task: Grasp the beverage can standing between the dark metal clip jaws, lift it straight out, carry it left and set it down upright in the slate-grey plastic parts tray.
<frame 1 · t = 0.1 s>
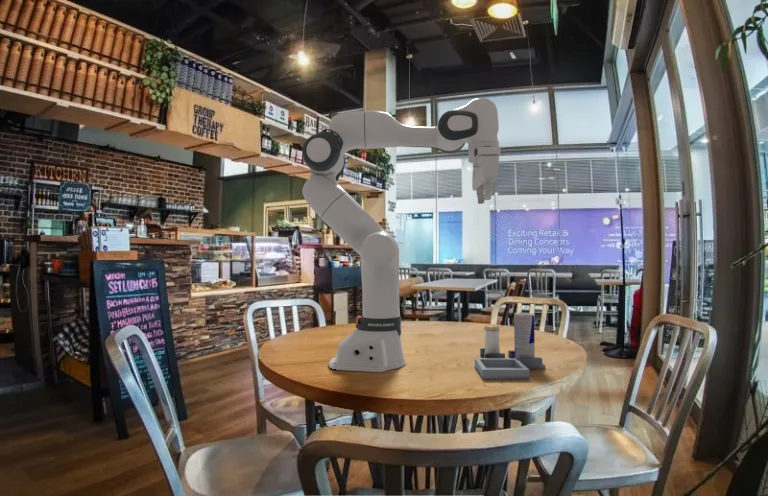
hand: (484, 201, 127), 48 cm above the table, fingers open, 8 cm apart
beverage can: (524, 365, 126), on the table
parts tray: (500, 372, 117), on the table
fuse clip: (524, 364, 126), on the table
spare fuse: (492, 358, 133), on the table
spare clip: (492, 358, 133), on the table
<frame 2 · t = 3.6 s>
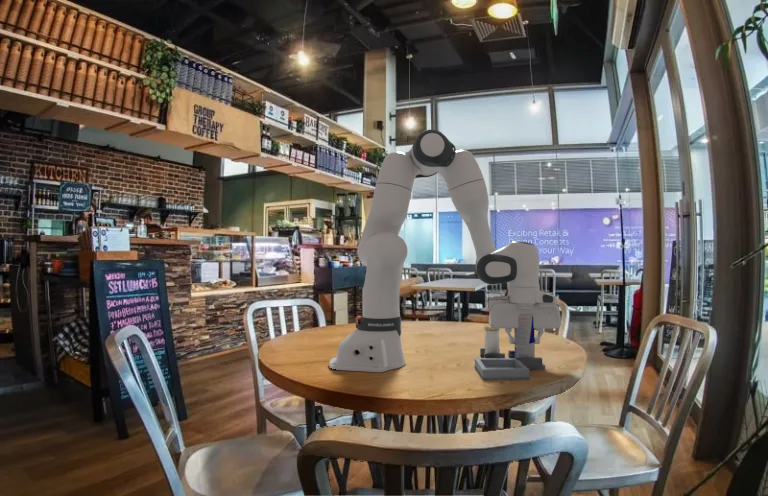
hand: (524, 343, 126), 6 cm above the table, fingers closed on beverage can, 5 cm apart
beverage can: (524, 365, 126), on the table, touching gripper
everything else where it was.
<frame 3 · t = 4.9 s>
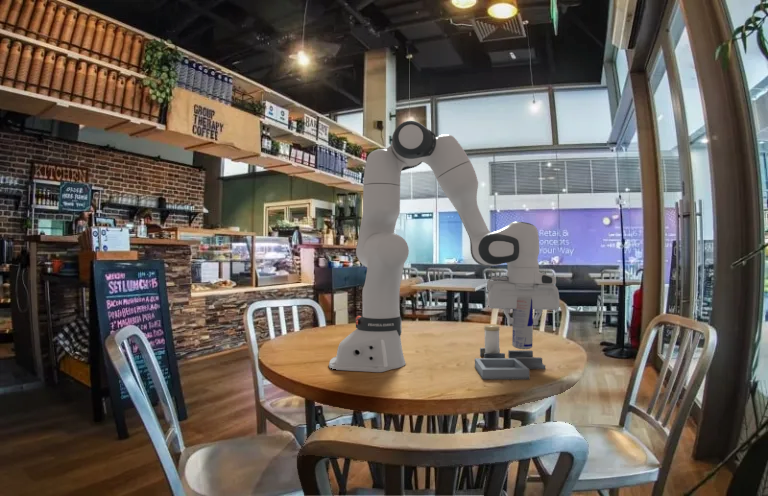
hand: (522, 324, 126), 12 cm above the table, fingers closed on beverage can, 6 cm apart
beverage can: (522, 348, 126), point 5 cm above the table, touching gripper
everything else where it was.
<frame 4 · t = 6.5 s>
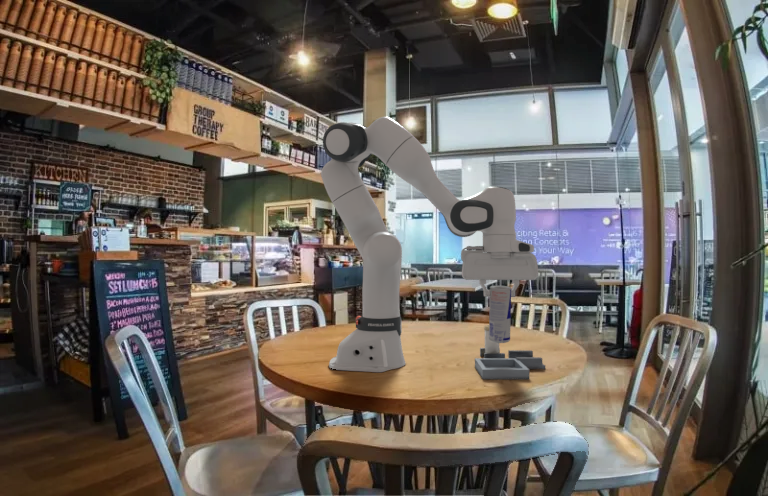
hand: (499, 296, 118), 21 cm above the table, fingers closed on beverage can, 5 cm apart
beverage can: (499, 341, 118), point 8 cm above the table, touching gripper
everything else where it was.
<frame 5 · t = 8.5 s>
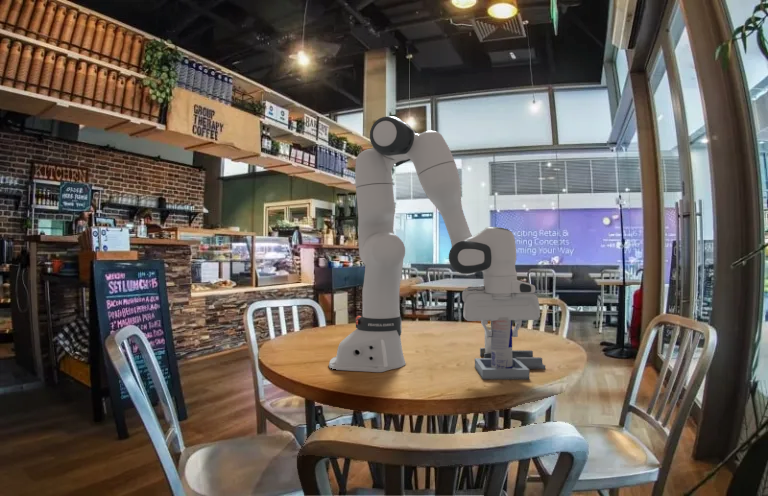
hand: (501, 336, 117), 10 cm above the table, fingers closed on beverage can, 5 cm apart
beverage can: (501, 371, 118), resting on parts tray, touching gripper
everything else where it was.
when the fingers open (8 cm above the table, at t = 9.8 s): beverage can stays where it is, resting on parts tray.
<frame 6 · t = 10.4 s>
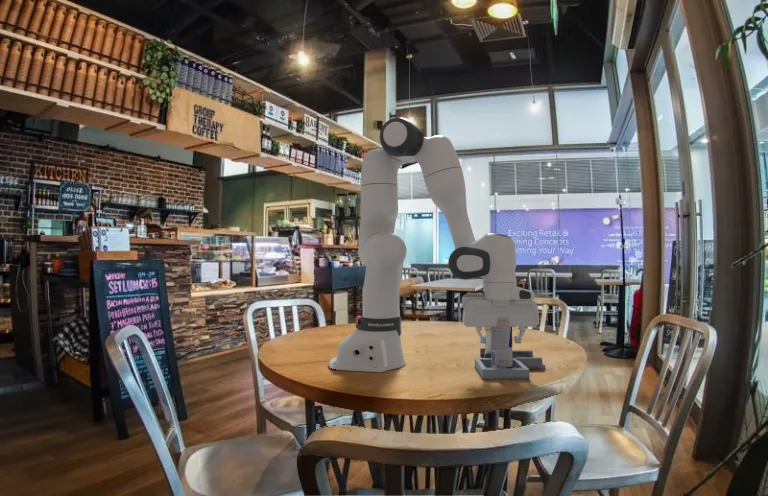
hand: (500, 343, 117), 8 cm above the table, fingers open, 8 cm apart
beverage can: (502, 371, 118), resting on parts tray
everything else where it was.
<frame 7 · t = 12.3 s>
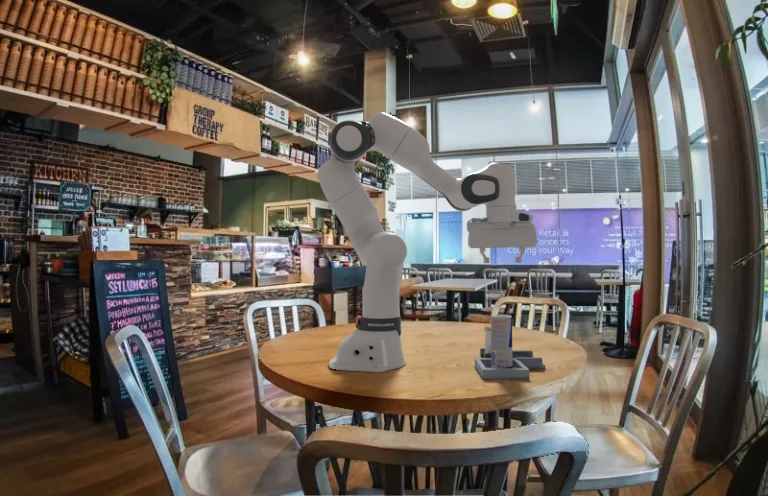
hand: (502, 263, 130), 30 cm above the table, fingers open, 8 cm apart
nothing on the table moved.
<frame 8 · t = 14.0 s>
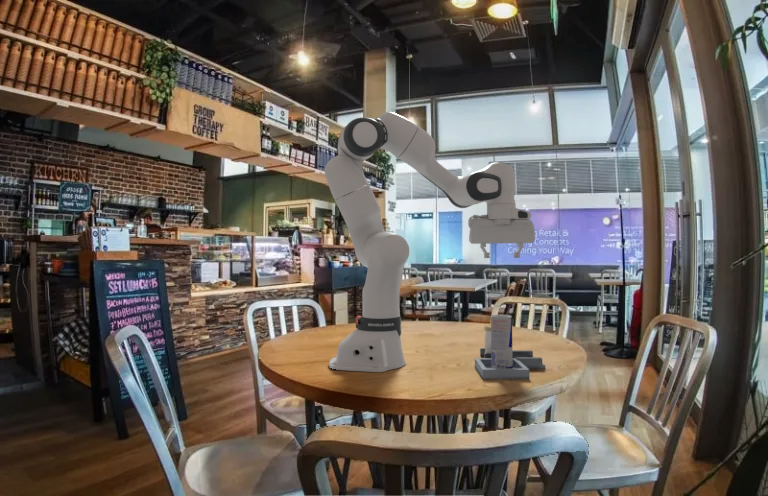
hand: (501, 258, 136), 31 cm above the table, fingers open, 8 cm apart
nothing on the table moved.
at the end: beverage can inside the target area on the parts tray (0.6 cm from its centre), point 0.4 cm above the parts tray's base; beverage can tilted 0°; the gripper is holding nothing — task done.
